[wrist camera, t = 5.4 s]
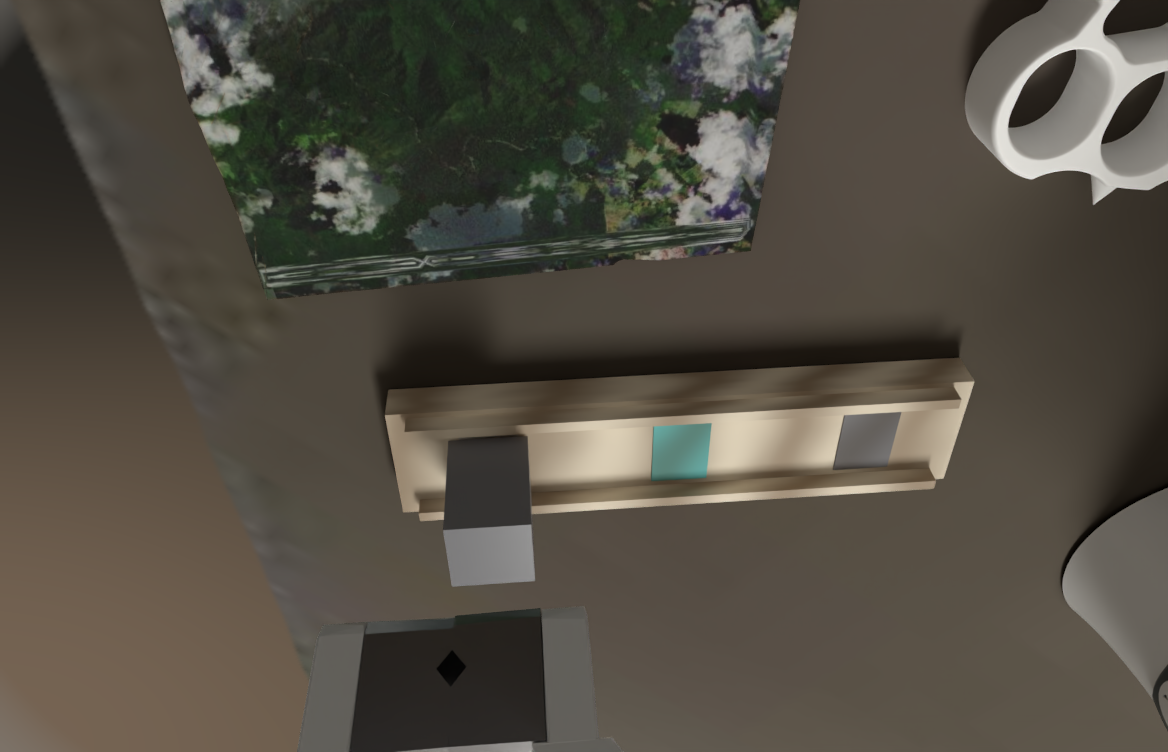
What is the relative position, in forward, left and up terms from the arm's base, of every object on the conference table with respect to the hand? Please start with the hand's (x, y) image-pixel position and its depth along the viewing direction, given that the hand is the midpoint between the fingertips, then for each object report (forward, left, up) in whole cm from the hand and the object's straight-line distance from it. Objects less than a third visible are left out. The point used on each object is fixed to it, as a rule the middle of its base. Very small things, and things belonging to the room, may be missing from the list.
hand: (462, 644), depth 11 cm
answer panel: (-8, +25, -31) cm, 41 cm away
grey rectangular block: (+2, +25, -29) cm, 38 cm away
